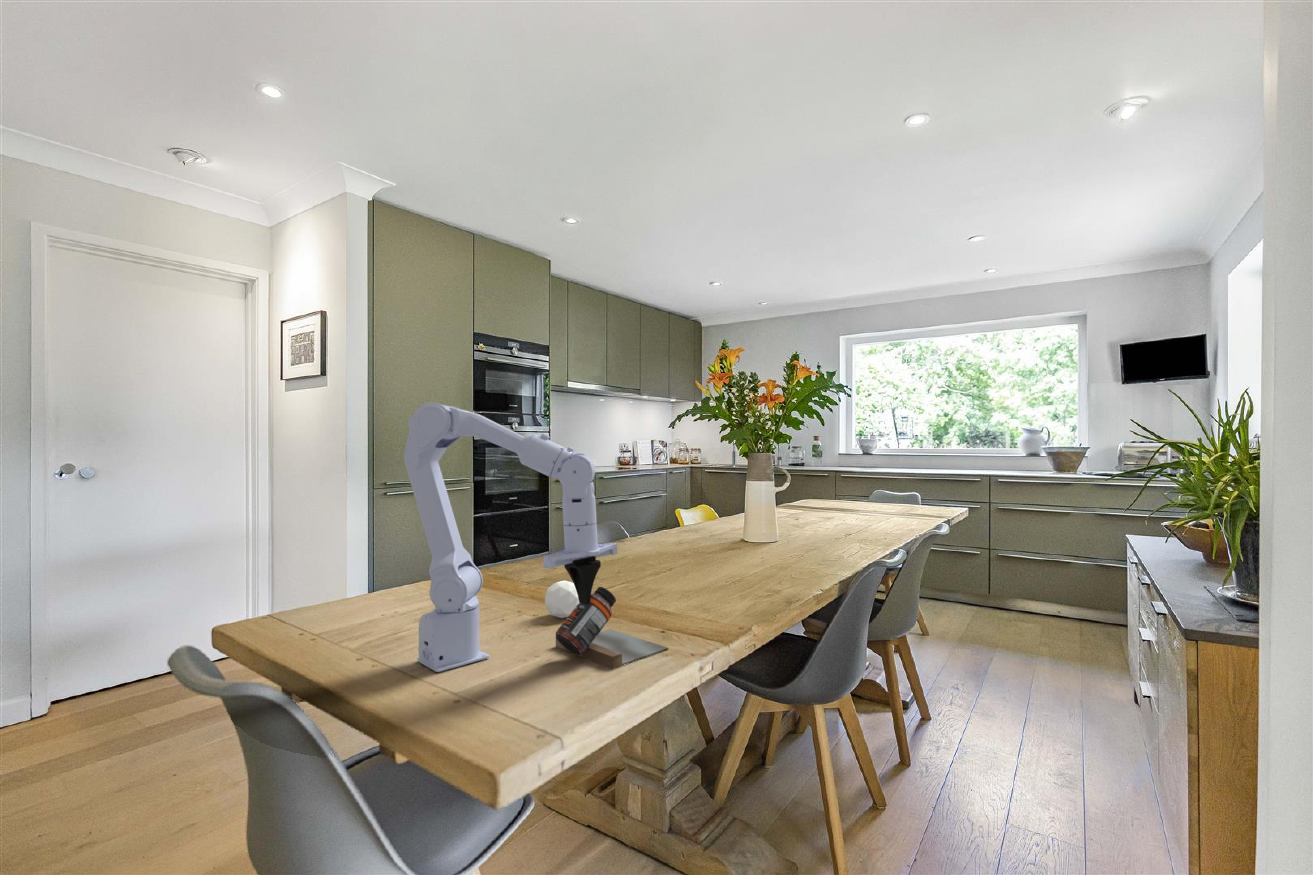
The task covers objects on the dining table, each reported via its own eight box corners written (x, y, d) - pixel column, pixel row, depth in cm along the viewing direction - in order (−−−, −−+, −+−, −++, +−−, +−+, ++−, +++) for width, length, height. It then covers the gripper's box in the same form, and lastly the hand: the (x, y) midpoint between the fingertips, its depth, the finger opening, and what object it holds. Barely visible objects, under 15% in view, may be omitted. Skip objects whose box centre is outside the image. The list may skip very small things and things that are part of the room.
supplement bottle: (548, 633, 102) (589, 583, 108) (571, 656, 103) (610, 605, 109) (562, 633, 97) (604, 581, 103) (586, 658, 98) (626, 604, 105)
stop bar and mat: (612, 668, 97) (612, 656, 97) (555, 646, 109) (555, 635, 109) (668, 649, 106) (668, 638, 106) (610, 630, 118) (610, 620, 118)
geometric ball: (566, 632, 126) (561, 608, 121) (540, 613, 130) (534, 589, 125) (590, 608, 131) (586, 584, 126) (564, 591, 135) (560, 567, 130)
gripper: (559, 531, 95) (563, 616, 95) (626, 519, 105) (631, 596, 105) (534, 528, 100) (538, 609, 100) (601, 517, 110) (605, 591, 110)
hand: (584, 602), depth 103 cm, fingers closed, pressing on supplement bottle
